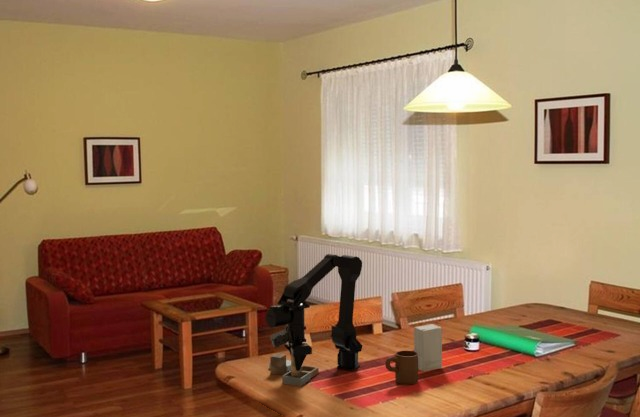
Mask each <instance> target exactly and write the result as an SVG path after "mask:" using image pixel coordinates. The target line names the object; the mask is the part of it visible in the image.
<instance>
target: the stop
mask: <svg viewBox="0 0 640 417" xmlns="http://www.w3.org/2000/svg"><path fill="white" fill-rule="evenodd" d="M269 357H270V358H269V360H270V361H269V363H270V368H269V369H270V375H271V374H272V375H277V374H279V376H282V375H284V374H286V373H287V372H286V360H287V354H284V353H277V352H276V353H274V354H272V355H270V356H269ZM281 374H282V375H281Z"/></svg>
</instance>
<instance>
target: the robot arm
mask: <svg viewBox="0 0 640 417" xmlns="http://www.w3.org/2000/svg"><path fill="white" fill-rule="evenodd" d="M336 267H337V273H338V275H339V278H340V281H341V282H340V283H341V285H340V296H339V298H340V299H339V309H338V321H337V322H336V324H335V325H332V326H331V335H330V338H331V341H332V343H333V344H334V348H335V349H337V350H338V353H337V356H336V357H337V359H336V360H337V361H336V362H337V366H336V369H340V370H347V371H348V370H349V371H355V370H357V369H358V368H359V367H360V366H361V364H360V363H359V353H360V352H362V349H363V344H362V343H361V342H360V341H359V340H358V339H357V330H356V328H355V324H354V323H353V320H354V318H353V317H354V308H355V293H356V282H357V280H358V279H359V277H360V276H361V273H362V269H363V261H362V259H361V257H358V256H354V255H350V254H349V255H348V254H343V255H341V256H340V255H338V254H333V253H332V254H331V253H327V254H326V255H324V257H323V258H322V259H321V260H320V261H319V262H318V263H317V264H316V265H314V267H312V268H311V269H310V270H309V271H308V272H307V273H306V274H305V275H304V276H302V277H301V278H297V279H296V280H295V279H294V280H293V281H292V282H290V283H288V284H287V285H285V287H284V288H283V293H282V295H280V296H281V297H280V298H279V300H278V302H277V305H270V306H269V309H268V310H267V311H266V314H265V322H266V324H267V326H268V327H269V328H270V329H271V328H277V327H281V326H282V327H283V326H284V329H283V330H279V331H277V332H275V333H273V334H271V335H269V338H270V340H271V341H270V342H271V344H272V346H273V347H274V348H279V347H281V346H282V345H283V346H284V347H285V348H286V349H287V350H288V352H289V355H290V356H291V354H292V355H293V356H294V362H295V367H296V371H299V370H300V368H301V366H303V363H304V362H305V360H306V357H307V355H312V354H313V348H312V346H311V345H310V344H309V343H307V338H306V332H305V331H306V330H307V326H306V325H305V324H306V323H305V309H309V308H310V307H311V306H310V305H309V304H308V303H307V302H306V301H307V299H308V298H309V297H310V296H311V294H312V292H313V291H312V290H313V289H314V287H315V286H316V285H318V284H319V282H321V281H322V280H323V279H324V278H326V276H327V275H328V274H329V273H330V272H332V270H334V269H335V268H336Z"/></svg>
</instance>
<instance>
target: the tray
mask: <svg viewBox="0 0 640 417" xmlns="http://www.w3.org/2000/svg"><path fill="white" fill-rule="evenodd" d="M281 377H282V378H281V381H282V382H281V383H282V384H283V385H284V384H285V385H291V386H296V385H297V386H298V387H302V386H304V385H305V384H307V383H308V382H310V381H311V380H312V378H311V372H304V371H302V377H301V378H296V377H291V371H289V372H285V373H284V374H282V375H281ZM297 386H296V387H297Z"/></svg>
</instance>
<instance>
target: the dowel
mask: <svg viewBox="0 0 640 417" xmlns="http://www.w3.org/2000/svg"><path fill="white" fill-rule="evenodd" d="M290 360H291V377H296V378H301V377H302V366H303V365H302V366H301V368H300V370H299V371H296V367H295V362H294V356H293V355H292V354H291V355H290Z"/></svg>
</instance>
